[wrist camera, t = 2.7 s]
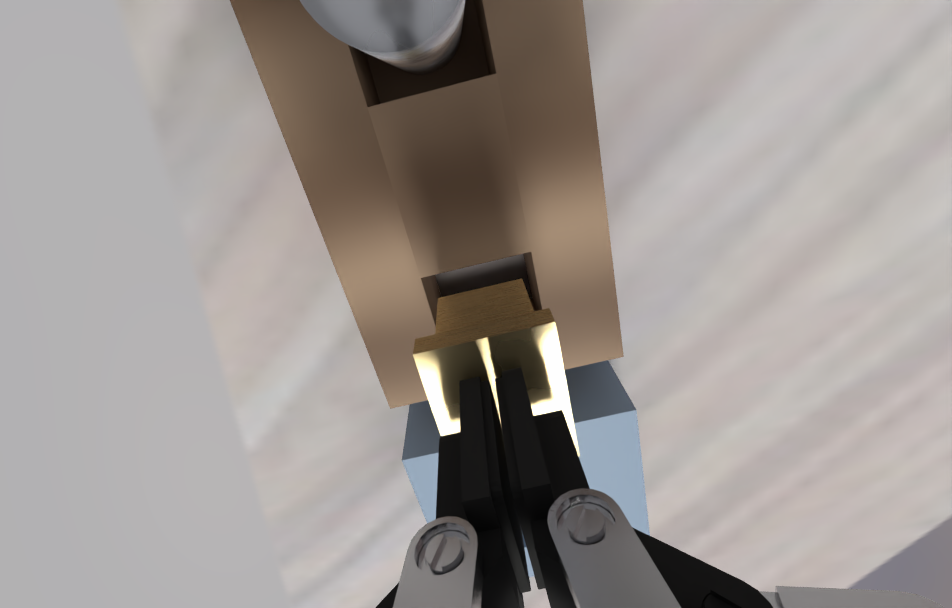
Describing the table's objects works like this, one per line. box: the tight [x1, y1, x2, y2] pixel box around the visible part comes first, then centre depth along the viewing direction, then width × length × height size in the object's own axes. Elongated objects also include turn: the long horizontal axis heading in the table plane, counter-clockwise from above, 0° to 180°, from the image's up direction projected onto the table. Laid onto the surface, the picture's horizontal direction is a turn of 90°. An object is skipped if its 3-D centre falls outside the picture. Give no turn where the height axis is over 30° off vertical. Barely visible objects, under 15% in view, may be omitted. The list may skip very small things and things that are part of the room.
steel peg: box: [300, 0, 465, 75], centre depth 12 cm, size 3×3×10 cm
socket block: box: [230, 0, 623, 409], centre depth 17 cm, size 18×10×4 cm, turn 13°
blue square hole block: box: [402, 360, 650, 577], centre depth 23 cm, size 9×10×5 cm
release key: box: [413, 278, 580, 456], centre depth 14 cm, size 4×4×5 cm
